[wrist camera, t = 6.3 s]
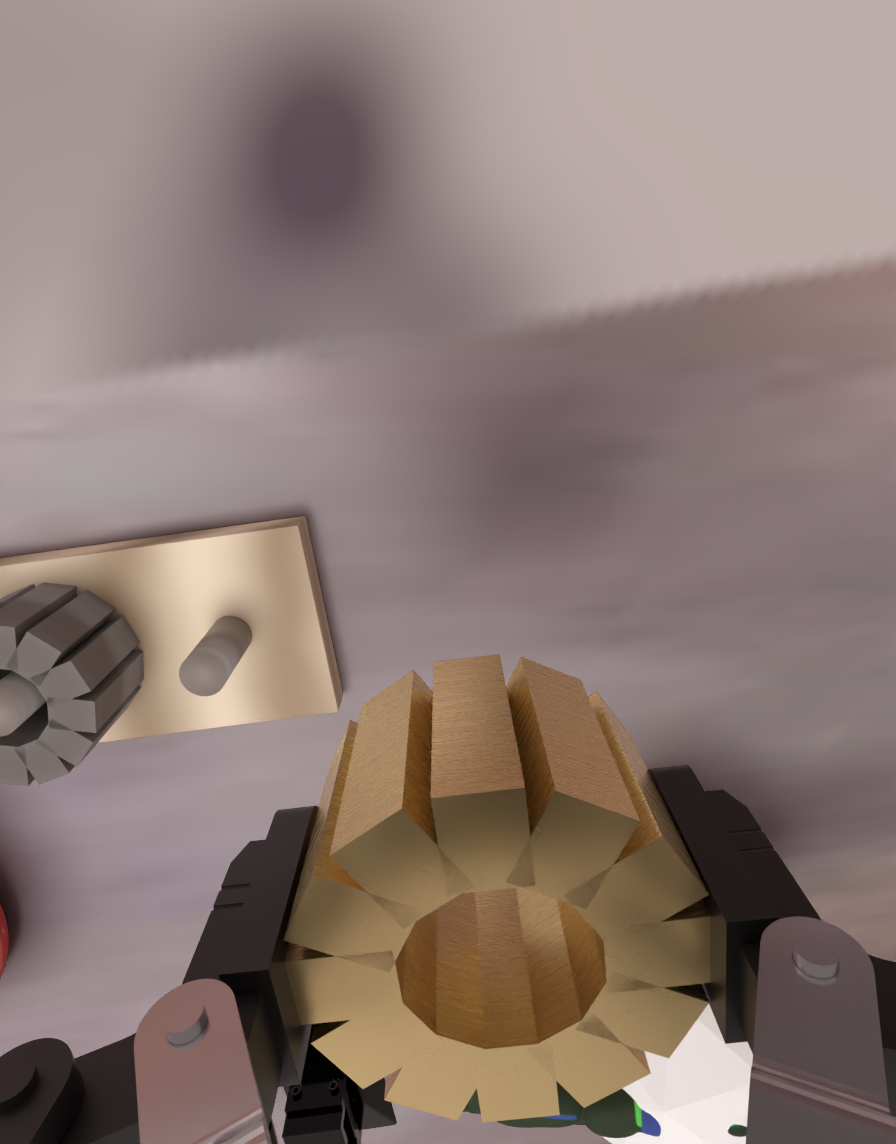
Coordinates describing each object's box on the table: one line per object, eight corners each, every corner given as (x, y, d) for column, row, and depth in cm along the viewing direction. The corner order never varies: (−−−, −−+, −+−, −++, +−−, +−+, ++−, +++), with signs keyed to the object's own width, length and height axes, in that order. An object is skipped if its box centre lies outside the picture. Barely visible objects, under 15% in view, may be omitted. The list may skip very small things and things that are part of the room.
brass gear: (632, 638, 12) (716, 766, 9) (643, 901, 14) (716, 1099, 11) (302, 677, 13) (244, 820, 9) (358, 932, 15) (328, 1137, 11)
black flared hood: (416, 1130, 39) (412, 1228, 35) (293, 1145, 39) (274, 1245, 35) (373, 970, 35) (363, 1059, 31) (236, 988, 35) (208, 1079, 31)
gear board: (305, 515, 27) (269, 562, 21) (343, 693, 29) (319, 778, 24) (-37, 563, 27) (-163, 621, 21) (29, 734, 30) (-68, 826, 24)
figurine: (457, 963, 34) (468, 1328, 22) (432, 791, 31) (427, 1102, 18) (814, 929, 34) (1040, 1280, 21) (828, 750, 30) (1105, 1040, 18)
